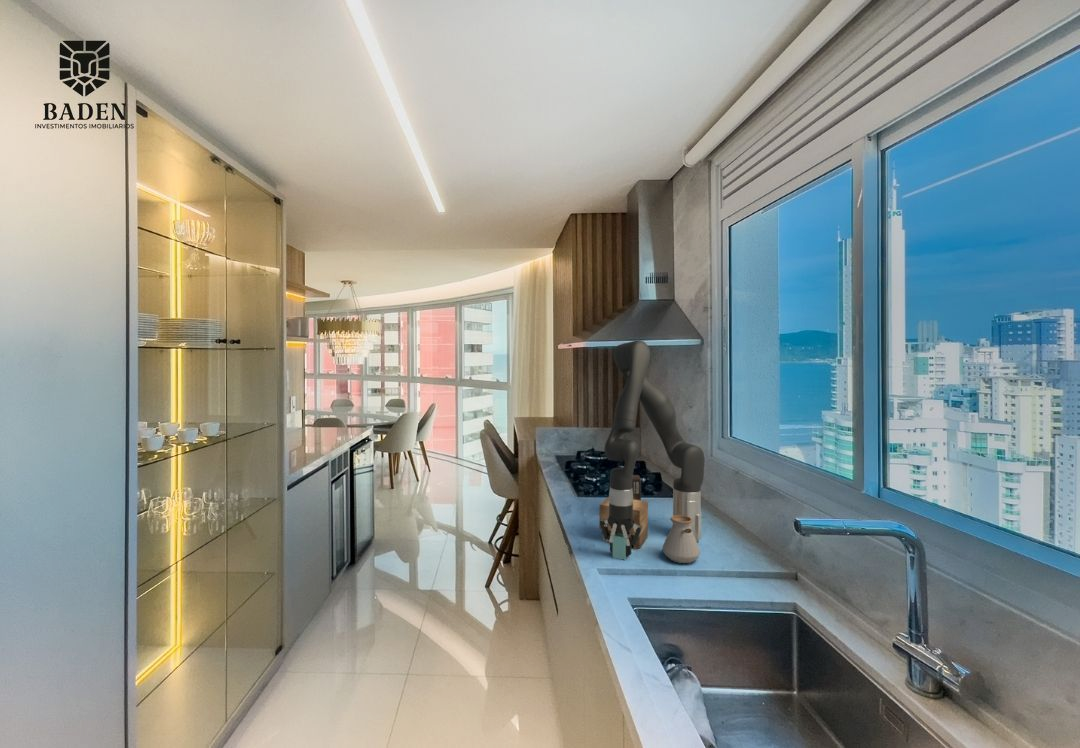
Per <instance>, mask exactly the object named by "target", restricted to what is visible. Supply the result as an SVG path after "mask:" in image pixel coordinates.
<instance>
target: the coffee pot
mask: <svg viewBox="0 0 1080 748" xmlns="http://www.w3.org/2000/svg"><path fill="white" fill-rule="evenodd" d="M669 519H670V521H671V522H672V526H671V528H670V530H669V532H668V534H667V536H666V538H665V540H664V543H663V544H662V551H663V553H664V555H665V556H666V557H667V558H668V559H669V558H670V559H671V560H670V559H669V560H670V561H672V560H673V561H675V562H674V563H676V562H679V563H678V564H681V563H689V564H692V563H693V562H695V560H696V561H697V559H698V558H699V557H700V555H701V549H700V546H699V544H698V542H696V539H695V537H694V534H695V533H694V534H693V532H692V529H691V527H690V524H691V522H692V518H690V517H688V516H683V515H674V516H673V515H672V516H670V517H669ZM673 561H672V562H673ZM691 562H692V563H691Z"/></svg>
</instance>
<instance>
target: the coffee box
mask: <svg viewBox="0 0 1080 748" xmlns="http://www.w3.org/2000/svg"><path fill="white" fill-rule="evenodd" d="M632 490H633V499H634V500H641V501H642V493H641V492H642V479H641V477H640V475H638V474H633V478H632Z"/></svg>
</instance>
